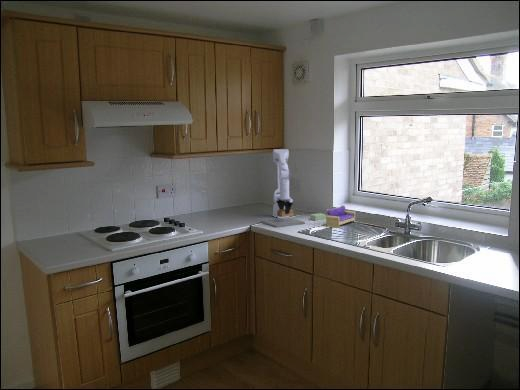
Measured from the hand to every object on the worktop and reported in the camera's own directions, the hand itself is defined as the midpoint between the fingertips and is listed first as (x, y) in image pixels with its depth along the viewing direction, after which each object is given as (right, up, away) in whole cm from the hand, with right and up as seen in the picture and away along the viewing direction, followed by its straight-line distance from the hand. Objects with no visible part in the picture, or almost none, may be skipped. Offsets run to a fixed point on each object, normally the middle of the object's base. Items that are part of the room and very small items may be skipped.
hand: (284, 212), depth 274 cm
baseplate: (-1, -6, +1) cm, 7 cm away
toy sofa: (+33, -7, -4) cm, 34 cm away
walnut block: (0, -2, 0) cm, 2 cm away
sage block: (+22, -5, +11) cm, 25 cm away
